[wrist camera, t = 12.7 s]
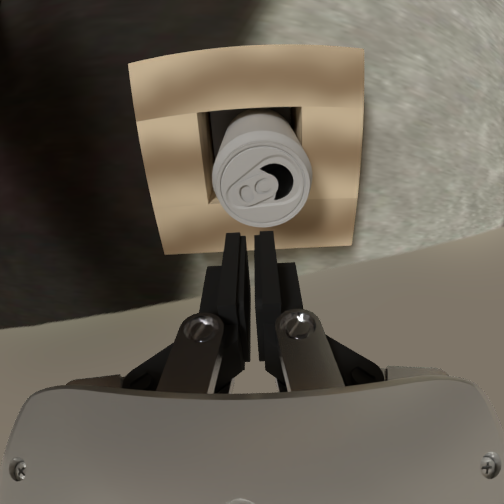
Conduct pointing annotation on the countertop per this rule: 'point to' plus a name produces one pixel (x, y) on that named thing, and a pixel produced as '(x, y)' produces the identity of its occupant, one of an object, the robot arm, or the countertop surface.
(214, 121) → the sprung base
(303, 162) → the beverage can
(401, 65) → the countertop surface
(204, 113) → the holder block
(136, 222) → the countertop surface
